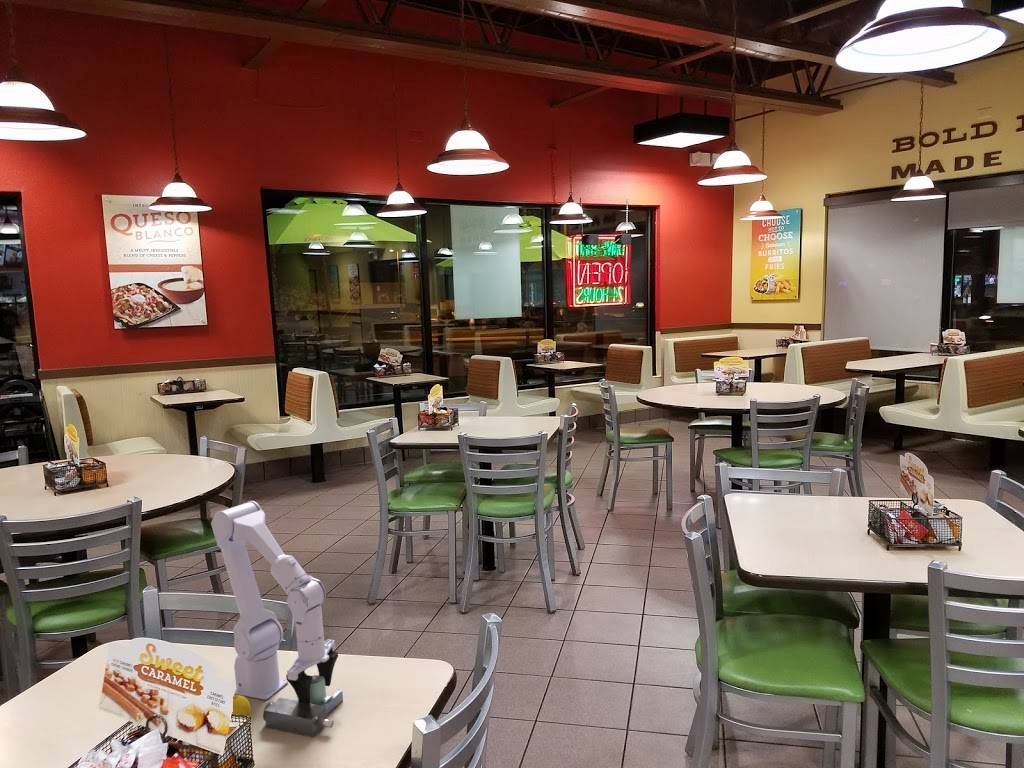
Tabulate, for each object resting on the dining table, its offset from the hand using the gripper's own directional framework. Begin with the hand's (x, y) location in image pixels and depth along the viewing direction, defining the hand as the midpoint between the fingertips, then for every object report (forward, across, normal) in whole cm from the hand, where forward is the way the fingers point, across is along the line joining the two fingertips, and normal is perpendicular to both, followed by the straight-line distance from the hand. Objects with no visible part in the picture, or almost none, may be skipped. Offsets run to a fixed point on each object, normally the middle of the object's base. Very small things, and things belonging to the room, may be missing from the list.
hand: (315, 694), depth 160 cm
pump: (+3, 0, 0) cm, 3 cm away
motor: (+3, -3, -1) cm, 4 cm away
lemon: (+3, -12, +11) cm, 17 cm away
